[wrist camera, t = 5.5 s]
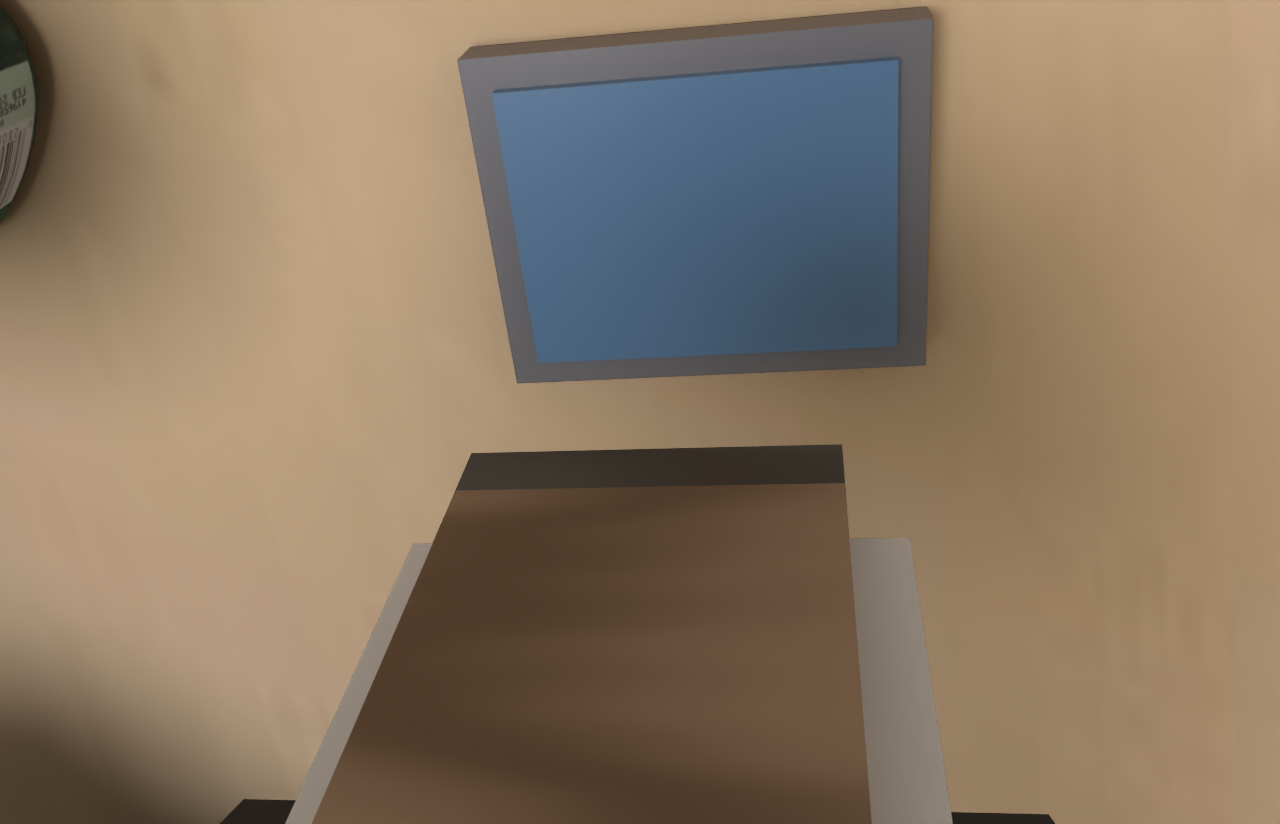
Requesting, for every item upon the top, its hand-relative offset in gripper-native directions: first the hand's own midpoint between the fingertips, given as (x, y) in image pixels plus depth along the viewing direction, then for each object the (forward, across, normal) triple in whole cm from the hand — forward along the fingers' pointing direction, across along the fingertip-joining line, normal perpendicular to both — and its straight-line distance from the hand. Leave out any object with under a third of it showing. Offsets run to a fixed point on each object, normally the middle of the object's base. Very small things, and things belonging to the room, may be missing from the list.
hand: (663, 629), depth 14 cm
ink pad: (+15, 0, 0) cm, 15 cm away
